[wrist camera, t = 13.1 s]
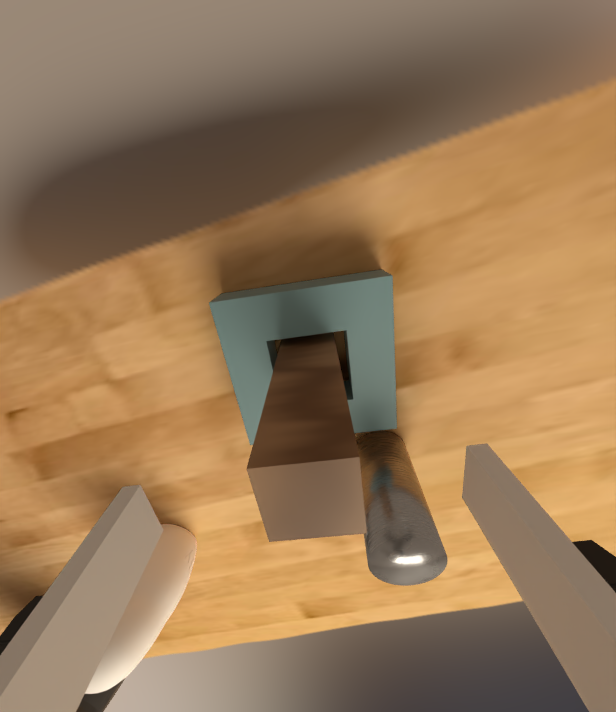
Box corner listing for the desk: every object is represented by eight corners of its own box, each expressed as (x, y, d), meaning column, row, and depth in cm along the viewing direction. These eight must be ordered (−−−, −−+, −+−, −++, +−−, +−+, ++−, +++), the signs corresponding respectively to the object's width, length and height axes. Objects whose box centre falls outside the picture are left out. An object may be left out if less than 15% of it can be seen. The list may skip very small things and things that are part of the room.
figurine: (132, 515, 32) (38, 666, 21) (201, 524, 32) (145, 677, 21) (135, 555, 35) (54, 706, 24) (199, 563, 35) (148, 715, 24)
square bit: (291, 379, 25) (269, 541, 12) (282, 335, 23) (246, 468, 10) (337, 373, 24) (367, 533, 11) (332, 328, 23) (359, 456, 10)
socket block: (256, 422, 26) (250, 444, 24) (221, 293, 22) (208, 302, 19) (387, 407, 26) (396, 428, 23) (381, 269, 21) (392, 275, 18)
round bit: (360, 475, 29) (377, 589, 20) (347, 437, 27) (359, 544, 18) (410, 465, 28) (451, 579, 19) (400, 425, 26) (441, 531, 17)
